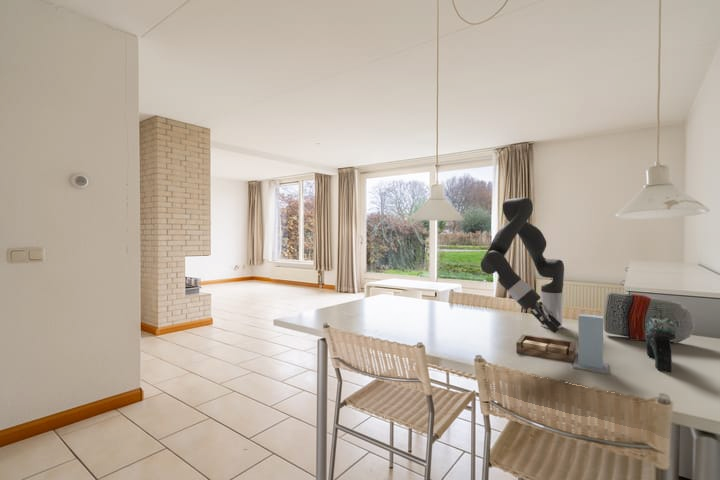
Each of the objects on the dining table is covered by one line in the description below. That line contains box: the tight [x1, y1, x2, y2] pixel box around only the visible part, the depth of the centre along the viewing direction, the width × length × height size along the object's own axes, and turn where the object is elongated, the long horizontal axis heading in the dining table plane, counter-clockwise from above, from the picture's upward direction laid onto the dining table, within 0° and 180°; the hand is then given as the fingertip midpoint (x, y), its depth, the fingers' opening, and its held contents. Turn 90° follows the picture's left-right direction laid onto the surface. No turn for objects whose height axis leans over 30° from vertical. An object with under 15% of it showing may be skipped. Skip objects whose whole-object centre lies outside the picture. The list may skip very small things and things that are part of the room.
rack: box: [515, 333, 577, 363], centre depth 137 cm, size 19×13×4 cm
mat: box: [572, 357, 610, 375], centre depth 122 cm, size 10×10×1 cm
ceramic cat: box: [645, 308, 675, 373], centre depth 125 cm, size 20×6×20 cm, turn 151°
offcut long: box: [523, 340, 548, 352], centre depth 137 cm, size 8×4×4 cm, turn 49°
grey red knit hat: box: [603, 291, 696, 344], centre depth 152 cm, size 19×6×30 cm
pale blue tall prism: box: [577, 313, 604, 369], centre depth 122 cm, size 7×4×17 cm, turn 56°
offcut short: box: [548, 344, 568, 355], centre depth 132 cm, size 6×4×4 cm, turn 51°
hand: (557, 328), depth 128 cm, fingers open, 8 cm apart
